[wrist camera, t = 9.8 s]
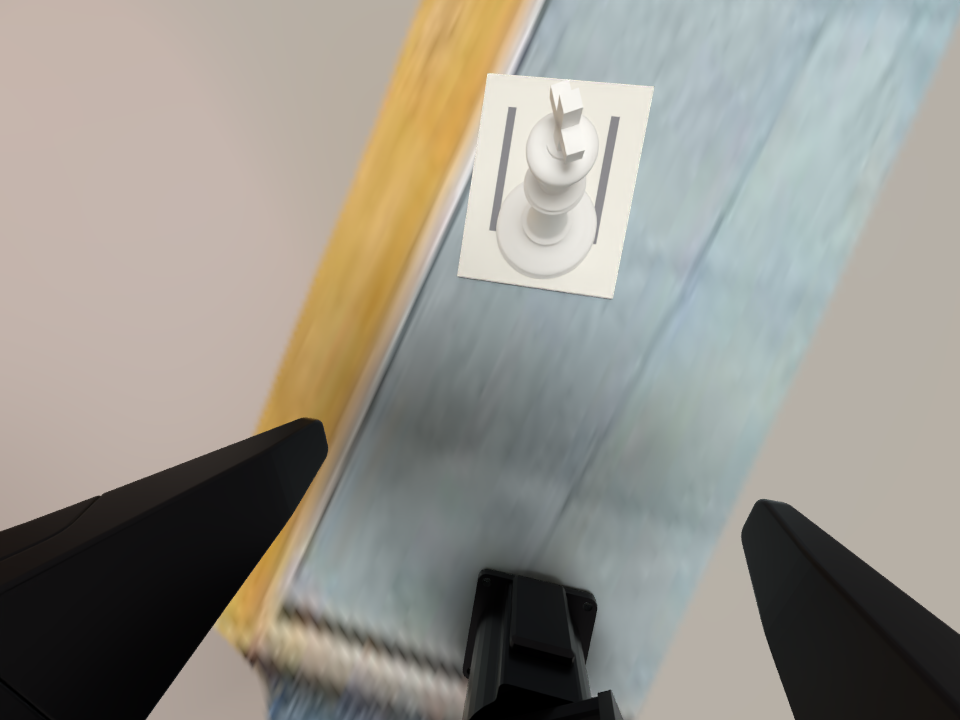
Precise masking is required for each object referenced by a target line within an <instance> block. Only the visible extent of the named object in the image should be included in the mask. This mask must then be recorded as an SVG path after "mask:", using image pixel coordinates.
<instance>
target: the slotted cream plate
mask: <svg viewBox="0 0 960 720" xmlns="http://www.w3.org/2000/svg"><path fill="white" fill-rule="evenodd" d="M565 80H566V79H554V78H542V77H529V76H517V75H505V74H492V73H488V75H487V81H486V88H485V95H484V101H483V108H482V115H481V121H480V128H479V134H478V141H477V148H476V154H475V161H474V168H473V174H472V181H471V188H470V194H469V201H468V207H467V214H466V221H465V227H464V234H463V241H462V247H461V254H460V261H459V267H458V274H457V276H458V277H463V278H470V279H476V280H483V281H490V282H497V283H504V284H511V285H517V286H524V287H531V288H538V289H545V290H551V291H558V292H565V293H572V294H579V295H585V296H592V297H599V298H606V299H613V295H614V290H615V285H616V280H617V275H618V269H619V264H620V259H621V254H622V249H623V244H624V239H625V234H626V229H627V223H628V218H629V213H630V208H631V203H632V198H633V193H634V188H635V183H636V177H637V172H638V167H639V162H640V157H641V152H642V147H643V142H644V136H645V131H646V126H647V121H648V116H649V111H650V106H651V101H652V96H653V90H654V87H653V86H641V85H628V84H616V83H604V82H591V81H579V80H569V82H570V86H571V90H573V89H576V88H579V90H580V95H581V99H582V104H583V110H582V115H584V116H585V117H587V118H588V119H589V120H590V121H591V122H592V124H593V125H594V127H595V129H596V131H597V134H598V139H599V151H598V156H597V159H596V161H595V164H594V165H593V167H592V169H591V170H590V171H589V173H588V174H587V175H586V189H585V191H586V192H587V194H588V195H589V197H590V198H591V200H592V202H593V205H594V207H595V211H596V217H597V228H596V234H595V239H594V242H593V245H592V247H591V249H590V251H589V253H588V255H587V256H586V258H585V259H584V260H583V261H582V262H581V263H580V264H579V265H578V266H577V267H576V268H575V269H573V270H572V271H570V272H568V273H567V274H564V275H562V276H559V277H556V278H551V279H537V278H532V277H528V276H526V275H523V274H521V273H520V272H518V271H516V270H515V269H514V268H513V267H511V266H510V265H509V264H508V262H507V261H506V260H505V258H504V257H503V255H502V253H501V251H500V249H499V246H498V242H497V237H496V225H497V219H498V215H499V211H500V209H501V206H502V204H503V202H504V200H505V199H506V197H507V196H508V195H509V193H510V192H511V191H512V190H513V189H514V188H515V187H517V186H518V185H519V184H520V183H522V182H524V178H525V175H526V172H527V170H528V168H529V166H528V163H527V159H526V144H527V140H528V137H529V134H530V132H531V130H532V129H533V127H534V126H535V125H536V123H537V122H538V121H539V120H541V119H542V118H543V117H545V116H546V115H548V114H550V113H552V112H553V110H552V106H551V102H550V88H551V85H553V84H556V83H559V82H562V81H565Z"/></svg>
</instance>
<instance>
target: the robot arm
mask: <svg viewBox="0 0 960 720" xmlns="http://www.w3.org/2000/svg"><path fill="white" fill-rule="evenodd" d="M327 453H328V444H327V440H326V435H325V431H324V427H323V424H322V422H321V421H320V420H317V419H312V418H300V419H297V420H295V421H292V422H289V423H287V424H284V425H282V426H279V427H276V428H274V429H271V430H269V431H266V432H263V433H261V434H258V435H255V436H253V437H250V438H248V439H245V440H243V441H240V442H237V443H234V444H232V445H229V446H227V447H224V448H221V449H219V450H216V451H213V452H211V453H208V454H206V455H203V456H200V457H198V458H195V459H192V460H190V461H187V462H185V463H182V464H180V465H177V466H174V467H172V468H169V469H166V470H164V471H161V472H159V473H156V474H153V475H151V476H148V477H145V478H143V479H141V480H137V481H135V482H132V483H130V484H127V485H124V486H122V487H119V488H116V489H114V490H111V491H109V492H106V493H104V494H102V496H95V497H93V498H90V499H88V500H85V501H82V502H80V503H77V504H74V505H72V506H69V507H66V508H64V509H61V510H58V511H56V512H53V513H50V514H47V515H45V516H42V517H39V518H37V519H34V520H31V521H29V522H26V523H23V524H20V525H17V526H14V527H12V528H9V529H6V530H3V531H0V720H146V718H147V717H148V716H149V714H150V713H151V711H152V710H153V709H154V707H155V706H156V704H157V703H158V702H159V700H160V699H161V697H162V696H163V695H164V693H165V692H166V691H167V689H168V688H169V686H170V685H171V684H172V682H173V681H174V679H175V678H176V677H177V675H178V674H179V672H180V671H181V670H182V668H183V667H184V665H185V664H186V663H187V661H188V660H189V658H190V657H191V656H192V654H193V653H194V652H195V650H196V649H197V647H198V646H199V644H200V643H201V642H202V640H203V639H204V637H205V636H206V635H207V633H208V632H209V631H210V629H211V628H212V626H213V625H214V624H215V622H216V621H217V619H218V618H219V617H220V615H221V614H222V612H223V611H224V610H225V608H226V607H227V606H228V604H229V603H230V601H231V600H232V599H233V597H234V596H235V594H236V593H237V592H238V590H239V589H240V587H241V586H242V585H243V583H244V582H245V580H246V579H247V578H248V576H249V575H250V573H251V572H252V571H253V569H254V568H255V566H256V565H257V564H258V562H259V561H260V559H261V558H262V557H263V555H264V554H265V553H266V551H267V550H268V548H269V547H270V546H271V544H272V543H273V541H274V540H275V539H276V537H277V536H278V534H279V533H280V532H281V530H282V529H283V527H284V526H285V525H286V523H287V522H288V520H289V519H290V517H291V516H292V514H293V513H294V511H295V509H296V508H297V506H298V504H299V503H300V501H301V499H302V498H303V496H304V494H305V493H306V491H307V489H308V487H309V486H310V484H311V482H312V481H313V479H314V477H315V476H316V474H317V472H318V470H319V469H320V467H321V465H322V464H323V462H324V460H325V458H326V456H327ZM741 538H742V545H743V549H744V553H745V557H746V561H747V565H748V569H749V573H750V577H751V581H752V585H753V590H754V594H755V597H756V602H757V606H758V609H759V614H760V618H761V622H762V625H763V629H764V632H765V636H766V639H767V641H768V644H769V647H770V651H771V653H772V656H773V659H774V662H775V665H776V668H777V670H778V673H779V676H780V679H781V682H782V684H783V687H784V690H785V693H786V695H787V698H788V701H789V704H790V707H791V709H792V712H793V715H794V718H795V720H960V634H958V633H957V632H956V631H954V630H953V629H952V628H950V627H949V626H948V625H947V624H945V623H944V622H943V621H941V620H940V619H938V618H937V617H936V616H935V615H933V614H932V613H931V612H929V611H928V610H927V609H926V608H924V607H923V606H922V605H920V604H919V603H918V602H916V601H915V600H914V599H913V598H911V597H910V596H909V595H907V594H906V593H905V592H903V591H902V590H901V589H899V588H898V587H897V586H895V585H894V584H893V583H892V582H890V581H889V580H888V579H886V578H885V577H884V576H882V575H881V574H880V573H878V572H877V571H876V570H874V569H873V568H872V567H871V566H869V565H868V564H867V563H865V562H864V561H863V560H861V559H860V558H859V557H858V556H856V555H855V554H854V553H852V552H851V551H850V550H848V549H847V548H846V547H844V546H843V545H842V544H840V543H839V542H838V541H836V540H835V539H834V538H833V537H831V536H830V535H829V534H827V533H826V532H825V531H823V530H822V529H821V528H819V527H818V526H817V525H816V524H814V523H813V522H812V521H810V520H809V519H808V518H806V517H805V516H804V515H803V514H801V513H800V512H798V511H797V510H796V509H795V508H793V507H792V506H790V505H789V504H787V503H784V502H778V501H773V500H767V499H760V500H758V501H757V502H756V503H755V504H754V507H753V509H752V511H751V513H750V514H749V517H748V518H747V520H746V522H745V524H744V526H743V529H742V534H741ZM484 578H488V579H490V580H491V581H489V582H486V581H485V580H484ZM586 602H589V603H591V604H590V605H588V606H585V605H583V604H584V603H586ZM596 613H597V603H596V600H595V597H594V596H593V595H592V594H590V593H587V592H582V591H578V590H574V589H570V588H566V587H562V586H560V585H556V584H552V583H548V582H544V581H539V580H535V579H531V578H527V577H523V576H515V575H511V574H507V573H503V572H498V571H494V570H490V569H484V570H482V571H481V572H480V574H479V577H478V583H477V588H476V594H475V600H474V606H473V612H472V618H471V624H470V629H469V635H468V641H467V647H466V653H465V659H464V664H463V674H464V676H465V677H466V678H468V679H469V681H468V688H467V694H466V700H465V706H464V713H463V719H462V720H623V718H622V715H621V713H620V710H619V708H618V706H617V703H616V701H615V698H614V696H613V693H612V691H611V690H608V691H604V692H600V693H598V697H594V698H591V693H590V687H589V682H588V677H587V671H586V666H585V665H586V661H587V656H588V651H589V646H590V641H591V637H592V632H593V627H594V622H595V618H596ZM470 667H471V668H470Z"/></svg>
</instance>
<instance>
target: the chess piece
mask: <svg viewBox="0 0 960 720" xmlns="http://www.w3.org/2000/svg"><path fill="white" fill-rule="evenodd" d="M550 102H551V106H552V110H553V112H552V113H550V114H548V115H546V116H545V117H543V118H542V119H541V120H539V121H538V122H537V123H536V125H535V126H534V127H533V129H532V130H531V132H530V134H529V137H528V140H527V144H526V159H527V163H528V166H529V168H528V170H527V172H526V175H525V178H524V182H522V183H520V184H519V185H518V186H517V187H515V188H514V189H513V190H512V191H511V192H510V193H509V195H508V196H507V197H506V199H505V200H504V202H503V204H502V206H501V209H500V211H499V215H498V219H497V225H496V237H497V242H498V246H499V249H500V251H501V253H502V255H503V257H504V258H505V260H506V261H507V262H508V264H509V265H510V266H511V267H513V268H514V269H515V270H516V271H518V272H520V273H521V274H523V275H526V276H528V277H532V278H537V279H551V278H556V277H559V276H562V275H564V274H567V273H568V272H570V271H572V270H573V269H575V268H576V267H577V266H578V265H579V264H580V263H581V262H582V261H583V260H584V259H585V258H586V256H587V255H588V253H589V251H590V249H591V247H592V245H593V242H594V239H595V234H596V228H597V217H596V211H595V207H594V205H593V202H592V200H591V198H590V197H589V195H588V194H587V192H586V191H585V189H586V175H587V174H588V173H589V171H590V170H591V169H592V167H593V165H594V164H595V161H596V159H597V156H598V151H599V139H598V134H597V131H596V129H595V127H594V125H593V124H592V122H591V121H590V120H589V119H588V118H587V117H585V116H584V115H582V110H583V104H582V99H581V95H580V90H579V88H576V89H573V90H571V86H570V82H569V79H568V80H565V81H562V82H559V83H556V84H553V85H551V88H550Z"/></svg>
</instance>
